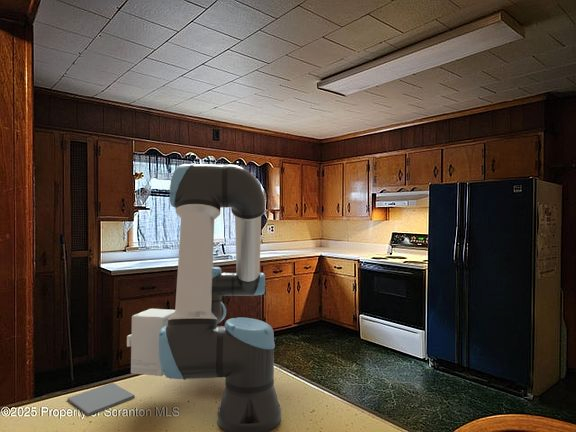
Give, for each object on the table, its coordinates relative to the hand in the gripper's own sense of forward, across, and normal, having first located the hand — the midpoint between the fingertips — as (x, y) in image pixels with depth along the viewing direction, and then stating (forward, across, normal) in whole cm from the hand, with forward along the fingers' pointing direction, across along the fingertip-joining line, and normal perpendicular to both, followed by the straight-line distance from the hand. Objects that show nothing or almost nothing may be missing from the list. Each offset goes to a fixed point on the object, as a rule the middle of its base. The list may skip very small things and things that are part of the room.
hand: (144, 343), depth 99 cm
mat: (0, +13, -16) cm, 21 cm away
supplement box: (-4, 0, -8) cm, 9 cm away
